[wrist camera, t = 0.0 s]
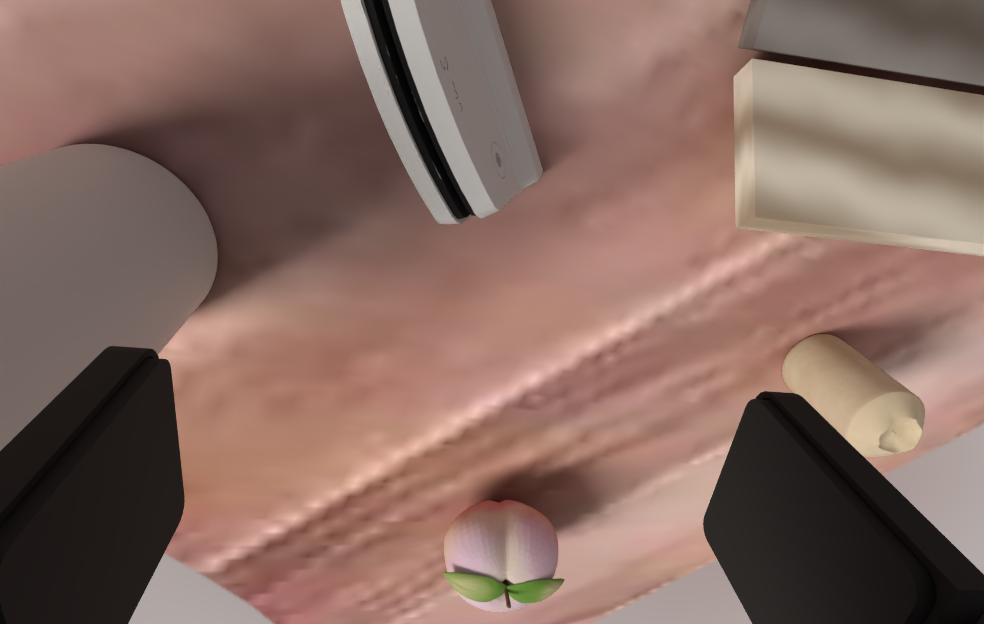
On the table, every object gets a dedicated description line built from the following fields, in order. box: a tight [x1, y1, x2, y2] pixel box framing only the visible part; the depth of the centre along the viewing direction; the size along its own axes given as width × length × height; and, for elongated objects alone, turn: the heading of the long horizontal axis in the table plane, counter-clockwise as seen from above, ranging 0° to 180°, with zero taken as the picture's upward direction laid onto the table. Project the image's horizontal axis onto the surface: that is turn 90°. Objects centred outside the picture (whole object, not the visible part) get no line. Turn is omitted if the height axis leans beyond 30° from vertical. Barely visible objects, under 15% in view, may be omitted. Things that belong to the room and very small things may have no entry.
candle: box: [782, 334, 925, 457], centre depth 44 cm, size 6×6×10 cm
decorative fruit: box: [444, 500, 564, 612], centre depth 47 cm, size 9×8×10 cm
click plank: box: [734, 58, 984, 256], centre depth 37 cm, size 10×24×2 cm
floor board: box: [738, 0, 984, 87], centre depth 36 cm, size 7×24×2 cm, turn 82°
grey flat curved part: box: [341, 0, 543, 224], centre depth 33 cm, size 17×5×10 cm, turn 19°
